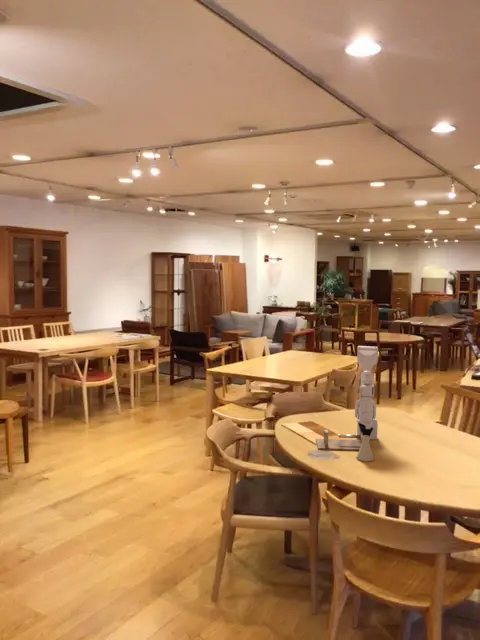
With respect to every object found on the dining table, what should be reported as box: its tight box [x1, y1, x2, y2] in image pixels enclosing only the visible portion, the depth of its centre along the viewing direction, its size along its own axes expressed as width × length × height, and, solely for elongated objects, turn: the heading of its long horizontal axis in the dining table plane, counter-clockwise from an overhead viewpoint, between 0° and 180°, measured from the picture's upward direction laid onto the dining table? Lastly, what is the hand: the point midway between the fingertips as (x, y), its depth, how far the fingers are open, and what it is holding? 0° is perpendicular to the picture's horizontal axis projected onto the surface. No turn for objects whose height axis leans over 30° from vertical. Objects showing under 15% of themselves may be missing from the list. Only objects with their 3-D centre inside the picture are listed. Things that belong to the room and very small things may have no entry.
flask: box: [355, 435, 375, 463], centre depth 247 cm, size 7×7×10 cm
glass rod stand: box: [337, 432, 363, 441], centre depth 265 cm, size 13×5×5 cm, turn 87°
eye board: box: [315, 429, 362, 452], centre depth 265 cm, size 22×14×7 cm, turn 87°
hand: (364, 440), depth 265 cm, fingers closed on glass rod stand, 5 cm apart
